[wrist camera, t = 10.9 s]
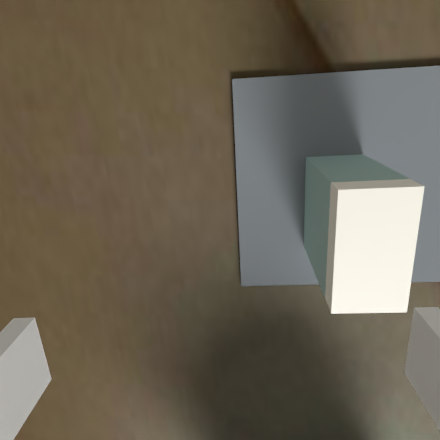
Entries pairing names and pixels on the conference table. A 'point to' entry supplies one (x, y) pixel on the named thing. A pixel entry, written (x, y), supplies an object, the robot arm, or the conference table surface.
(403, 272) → the painted block
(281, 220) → the slate mat
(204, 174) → the conference table surface
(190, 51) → the conference table surface
